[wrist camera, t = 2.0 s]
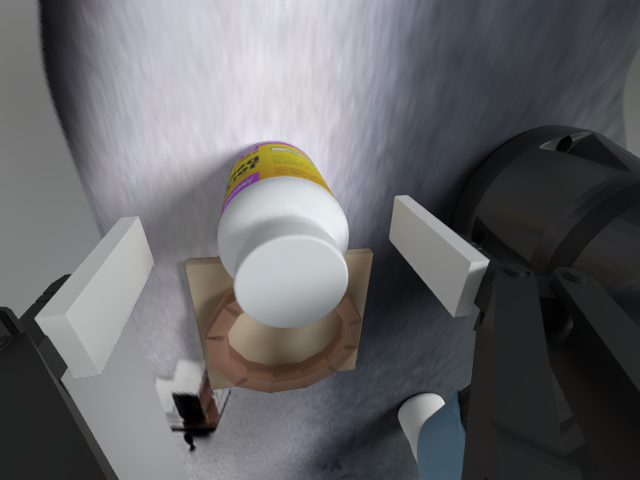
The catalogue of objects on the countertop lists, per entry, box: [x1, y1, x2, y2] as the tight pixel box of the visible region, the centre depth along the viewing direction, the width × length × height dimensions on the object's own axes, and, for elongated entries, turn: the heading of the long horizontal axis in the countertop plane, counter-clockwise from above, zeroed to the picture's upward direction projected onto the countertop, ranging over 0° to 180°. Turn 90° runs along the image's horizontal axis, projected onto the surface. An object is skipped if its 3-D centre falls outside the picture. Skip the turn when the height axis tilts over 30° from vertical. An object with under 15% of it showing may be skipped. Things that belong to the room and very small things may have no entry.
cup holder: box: [185, 248, 373, 393], centre depth 29 cm, size 16×16×3 cm
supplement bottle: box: [217, 141, 349, 328], centre depth 17 cm, size 7×7×13 cm
